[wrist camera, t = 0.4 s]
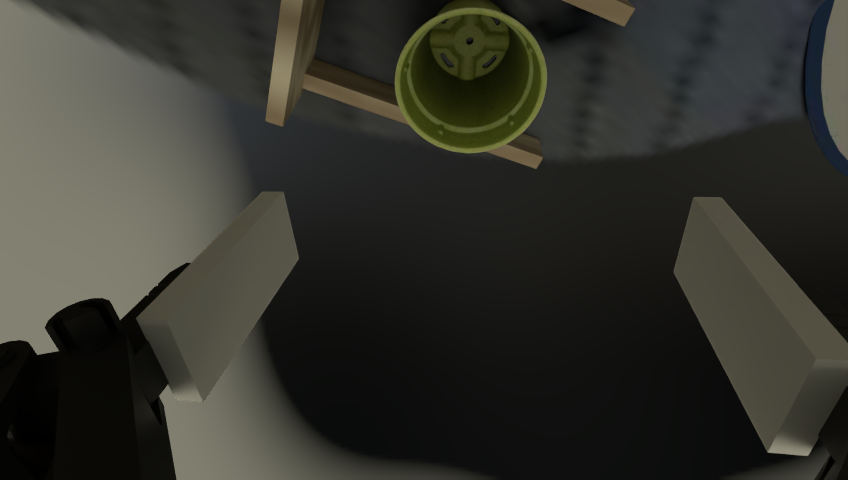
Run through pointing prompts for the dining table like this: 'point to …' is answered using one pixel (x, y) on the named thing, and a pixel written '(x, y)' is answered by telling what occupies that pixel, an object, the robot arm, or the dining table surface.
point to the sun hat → (829, 81)
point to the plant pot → (470, 78)
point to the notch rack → (305, 72)
